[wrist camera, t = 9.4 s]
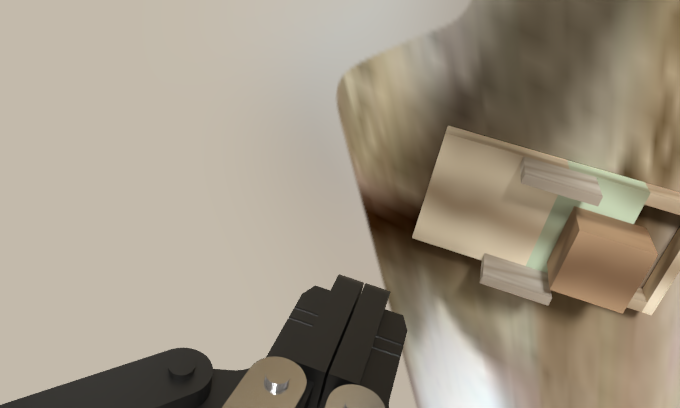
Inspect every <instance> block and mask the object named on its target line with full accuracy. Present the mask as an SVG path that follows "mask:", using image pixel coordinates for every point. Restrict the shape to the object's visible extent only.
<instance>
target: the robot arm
mask: <svg viewBox="0 0 680 408" xmlns="http://www.w3.org/2000/svg"><path fill="white" fill-rule="evenodd" d="M363 284H364V283H363V282H360V281H357V280H354V279H351V278H348V277H345V276H342V275H338V277H337V279H336V281H335V283H334V285H333V287H332V289H331V291H330V290H327V289H324V288H321V287H318V286H314V287H312V288H311V289H309V290H308V291H306V292H305V293H303V294H302V295H301V297H300V299H299V300H298V302H297V304H296V306H295V308H294V309H293V311H292V313H291V315H290V316H289V319H288V320H287V322H286V323H285V325H284V327H283V329H282V330H281V332H280V334H279V336H278V337H277V339H276V341H275V343H274V345H273V346H272V348H271V350H270V352H269V353H268V355H267V357H266V358H263V359H260V360H259V361H257V362H256V363H254V364H253V365H252V366H251V367H250V368H249V369H245V370H238V371H234V370H220V369H213V367H212V364H211V362H210V360H209V359H208V357H207V356H206V355H204V354H203V353H201V352H199V351H197V350H194V349H190V348H176V349H171V350H168V351H165V352H162V353H159V354H156V355H153V356H150V357H146V358H143V359H140V360H138V361H134V362H131V363H128V364H125V365H122V366H119V367H116V368H113V369H110V370H107V371H103V372H100V373H97V374H94V375H91V376H88V377H85V378H82V379H79V380H76V381H73V382H70V383H67V384H64V385H60V386H57V387H54V388H51V389H48V390H45V391H42V392H39V393H36V394H33V395H30V396H27V397H24V398H20V399H17V400H14V401H11V402H8V403H5V404H2V405H0V408H389V399H390V394H391V391H392V387H393V383H394V380H395V375H396V372H397V368H398V364H399V360H400V356H401V353H402V349H403V345H404V341H405V337H406V333H407V328H406V324H405V321H404V317H403V315H400V314H397V313H394V312H391V311H388V310H385V307H386V304H387V301H388V298H389V294H390V291H387V290H384V289H381V288H378V287H375V286H372V285H369V284H365V286H364V288H363ZM362 288H363V291H362ZM361 292H362V293H361Z"/></svg>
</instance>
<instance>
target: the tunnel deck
mask: <svg viewBox="0 0 680 408" xmlns="http://www.w3.org/2000/svg"><path fill="white" fill-rule="evenodd" d="M644 205H647V206H651V207H654V208H658V209H661V210H664V211H668V212H671V213H674V214H678V215H680V192H676V191H673V190H669V189H666V188H663V187H659V186H656V185H652V184H649V183H645V182H642V181H638V180H635V179H631V178H628V177H625V176H621V175H618V174H614V173H611V172H607V171H604V170H600V169H597V168H593V167H590V166H587V165H583V164H580V163H576V162H573V161H569V160H566V159H562V158H559V157H556V156H552V155H549V154H545V153H542V152H538V151H535V150H531V149H528V148H524V147H521V146H518V145H514V144H511V143H507V142H504V141H500V140H497V139H493V138H490V137H486V136H483V135H480V134H476V133H473V132H469V131H466V130H462V129H459V128H455V127H452V126H449V125H448V127H447V130H446V133H445V136H444V139H443V142H442V146H441V149H440V152H439V155H438V158H437V161H436V164H435V167H434V171H433V174H432V177H431V180H430V183H429V186H428V189H427V192H426V196H425V199H424V202H423V205H422V208H421V211H420V214H419V217H418V221H417V224H416V227H415V230H414V233H413V236H412V238H413V239H417V240H420V241H423V242H426V243H429V244H432V245H435V246H438V247H441V248H444V249H447V250H451V251H454V252H457V253H460V254H463V255H466V256H469V257H472V258H475V259H478V260H482V262H481V273H480V284H483V285H486V286H489V287H493V288H496V289H499V290H502V291H505V292H508V293H511V294H514V295H517V296H520V297H523V298H526V299H529V300H532V301H535V302H538V303H541V304H544V305H547V306H548V305H549V303H550V301H551V299H552V293H551V290H550V288H549V278H548V269H547V261H548V259H549V257H550V255H551V253H552V251H553V249H554V246H555V244H556V242H557V240H558V238H559V236H560V234H561V232H562V230H563V228H564V226H565V224H566V222H567V220H568V218H569V216H570V213H571V211H572V209H573V207H574V206H576V207H579V208H582V209H585V210H589V211H592V212H595V213H599V214H602V215H605V216H608V217H612V218H615V219H618V220H621V221H625V222H628V223H631V224H634V222H635V221H636V219H637V217H638V215H639V213H640V212H641V210H642V208H643V206H644ZM679 271H680V227H679V229H678V230H677V232H676V234H675V235H674V237H673V239H672V240H671V242H670V244H669V245H668V247H667V249H666V250H665V252H664V254H663V255H662V257H661V258H660V260H659V262H658V263H657V265H656V267H655V268H654V270H653V272H652V273H651V275H650V277H649V278H648V280H647V282H646V283H645V285H644V287H643V288H642V289H641V288H638V289H637V291H636V292H635V294H634V296H633V297H632V299H631V301H630V302H629V304H628V306H627V308H630V309H633V310H637V311H640V312H643V313H646V314H649V315H652V314H653V312H654V311H655V309H656V307H657V306H658V304H659V303H660V301H661V299H662V298H663V296H664V295H665V293H666V292H667V290H668V288H669V287H670V285H671V284H672V282H673V280H674V279H675V277H676V276H677V274H678V273H679Z"/></svg>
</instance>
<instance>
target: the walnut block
mask: <svg viewBox="0 0 680 408" xmlns="http://www.w3.org/2000/svg"><path fill="white" fill-rule="evenodd" d="M657 256H658V253H657V251H656V249H655V247H654V244H653V242H652V240H651V238H650V235H649V233H648V231H647V229H646V228H644V227H641V226H638V225H635V224H631V223H628V222H625V221H621V220H618V219H615V218H612V217H608V216H605V215H602V214H599V213H595V212H592V211H589V210H585V209H582V208H579V207H576V206H574V207H573V209H572V211H571V213H570V216H569V218H568V220H567V222H566V224H565V226H564V228H563V230H562V232H561V234H560V236H559V238H558V240H557V242H556V244H555V246H554V249H553V251H552V253H551V255H550V257H549V259H548V261H547V269H548V278H549V288H550V290H552V291H555V292H558V293H561V294H564V295H567V296H570V297H573V298H576V299H579V300H582V301H586V302H589V303H592V304H595V305H598V306H601V307H604V308H607V309H610V310H613V311H616V312H619V313H622V314H623V312H624V311H625V309H626V307H627V306H628V304H629V302H630V301H631V299H632V297H633V296H634V294H635V292H636V291H637V289H638V287H639V286H640V284H641V282H642V281H643V279H644V278H645V276H646V274H647V273H648V271H649V269H650V268H651V266H652V264H653V263H654V261H655V259H656V258H657Z"/></svg>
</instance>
